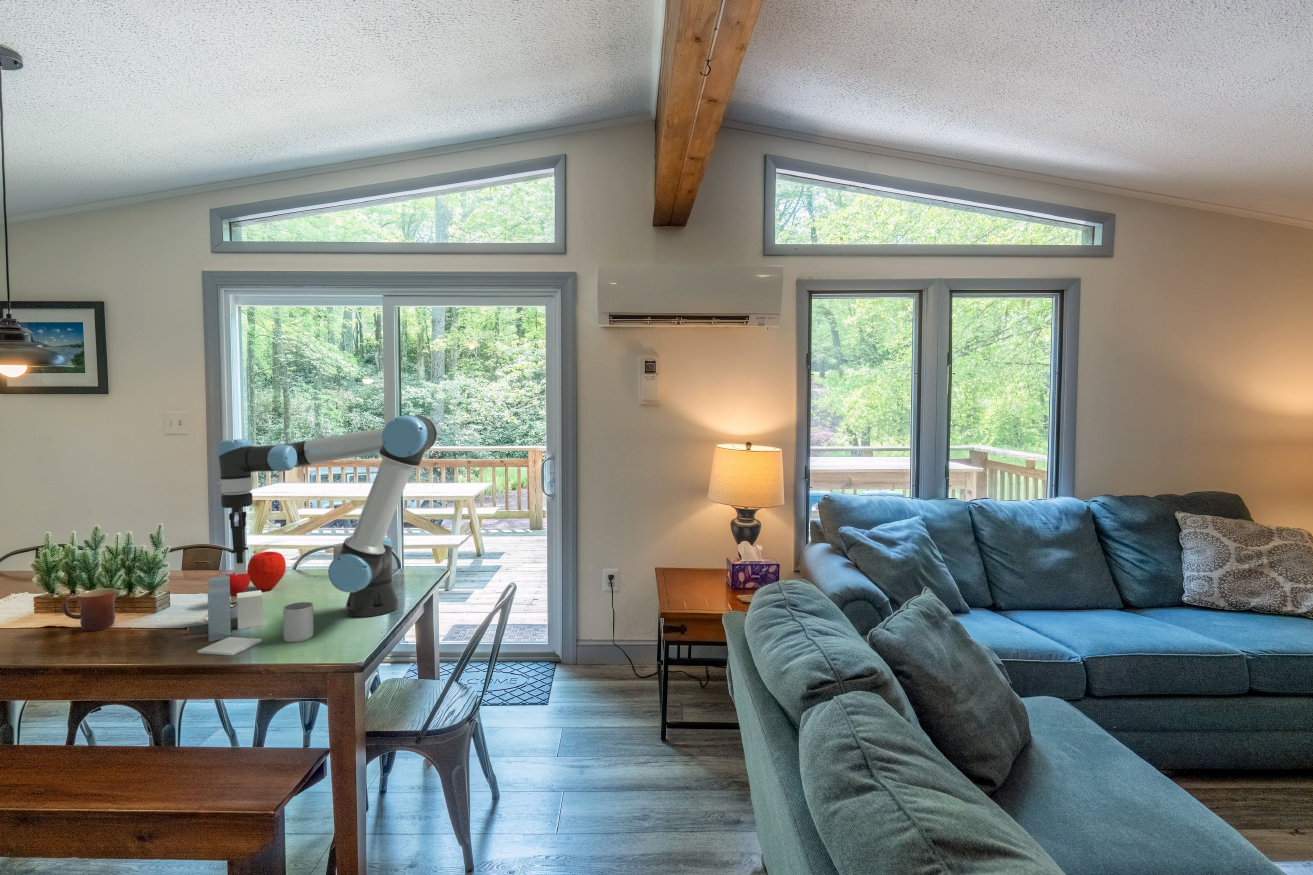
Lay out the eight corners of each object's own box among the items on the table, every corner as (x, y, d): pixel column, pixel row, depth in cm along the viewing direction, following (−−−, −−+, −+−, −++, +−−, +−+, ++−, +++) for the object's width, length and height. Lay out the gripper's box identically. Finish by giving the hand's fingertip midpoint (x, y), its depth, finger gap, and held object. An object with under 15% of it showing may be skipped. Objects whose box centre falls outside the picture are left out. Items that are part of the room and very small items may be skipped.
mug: (122, 620, 186) (121, 586, 186) (113, 630, 178) (112, 594, 178) (69, 626, 180) (68, 591, 180) (57, 636, 173) (56, 599, 172)
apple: (293, 587, 222) (293, 550, 221) (257, 596, 212) (257, 556, 211) (276, 582, 228) (275, 546, 228) (240, 590, 218) (240, 552, 218)
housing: (230, 617, 190) (229, 575, 189) (230, 637, 173) (230, 591, 173) (210, 620, 187) (209, 577, 186) (208, 641, 170) (207, 594, 170)
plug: (188, 636, 173) (187, 604, 173) (188, 630, 178) (188, 599, 178) (262, 625, 183) (262, 594, 183) (261, 619, 188) (261, 590, 188)
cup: (281, 643, 169) (281, 611, 169) (287, 631, 178) (287, 600, 178) (311, 640, 172) (311, 608, 172) (316, 628, 181) (315, 598, 181)
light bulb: (232, 608, 199) (231, 577, 198) (213, 606, 200) (213, 575, 200) (256, 599, 208) (256, 569, 207) (238, 598, 209) (238, 568, 209)
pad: (261, 641, 171) (261, 639, 171) (232, 655, 161) (231, 653, 161) (229, 638, 172) (229, 636, 172) (197, 652, 162) (197, 650, 162)
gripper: (223, 491, 185) (227, 570, 186) (218, 496, 173) (222, 580, 174) (253, 489, 188) (257, 567, 189) (250, 494, 177) (254, 576, 178)
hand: (240, 573), depth 182 cm, fingers closed
